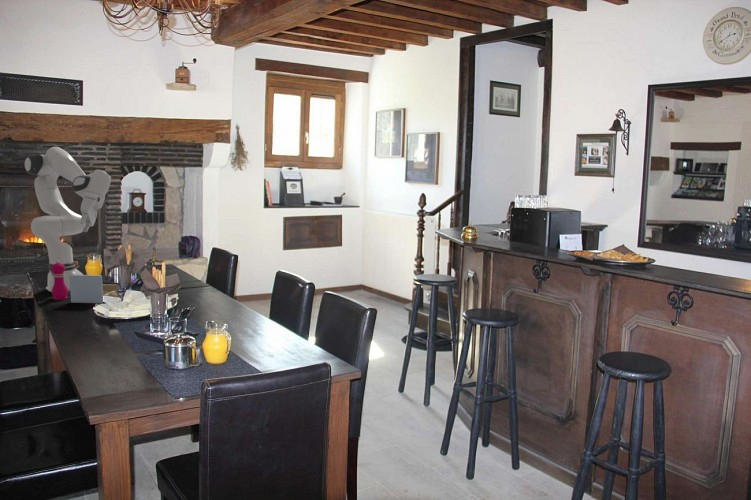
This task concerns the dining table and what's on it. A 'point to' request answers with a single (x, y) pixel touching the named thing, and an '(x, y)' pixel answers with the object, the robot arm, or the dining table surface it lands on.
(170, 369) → the dining table surface
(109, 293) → the tray
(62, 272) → the pepper mill
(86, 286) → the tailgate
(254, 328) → the dining table surface
